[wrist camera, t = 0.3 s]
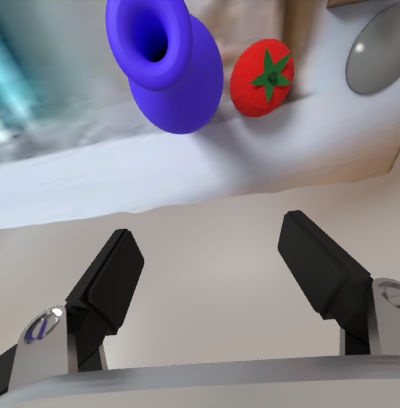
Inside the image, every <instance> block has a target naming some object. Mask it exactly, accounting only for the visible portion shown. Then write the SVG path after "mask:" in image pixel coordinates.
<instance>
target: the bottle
mask: <svg viewBox="0 0 400 408" xmlns="http://www.w3.org/2000/svg"><path fill="white" fill-rule="evenodd" d="M106 30H107V36H108V40H109V44H110V47H111V50H112V52H113V55H114V57H115V59H116V61H117V63H118V65H119V66H120V68H121V69H122V71H123V72H124V73H125V75H126V76H127V77H128V80H129V85H130V88H131V92H132V94H133V97H134V99H135V101H136V103H137V105H138V107H139V108H140V110H141V111H142V113H143V114H144V115H145V116H146V117H147V118H148V120H149V121H150V122H152V123H153V124H154V125H155V126H157V127H158V128H160V129H162V130H164V131H166V132H169V133H173V134H188V133H192V132H194V131H197V130H199V129H200V128H202V127H203V126H204V125H205V124H206V123H207V122H208V121H209V120H210V119H211V118H212V116H213V115H214V113H215V111H216V109H217V107H218V105H219V102H220V99H221V95H222V90H223V66H222V61H221V56H220V53H219V50H218V47H217V45H216V43H215V41H214V38H213V37H212V35H211V34H210V32H209V31H208V29H207V28H206V27H205V26H204V24H203V23H202V22H200V21H199V20H198V19H197V18H196V17H194V16H193V15H191V14H189V12H188V9H187V7H186V4H185V2H184V0H107V6H106Z"/></svg>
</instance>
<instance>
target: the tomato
mask: <svg viewBox="0 0 400 408" xmlns="http://www.w3.org/2000/svg"><path fill="white" fill-rule="evenodd" d="M291 53H292V52H290V50H289V49H288V48H287V46H286V45H285V44H284V43H282V42H280V41H278V40H276V39H263V40H260V41H258V42H256V43H254V44H252V45H251V46H250V47H249V48H248V49H247V50H245V51H244V52H243V53H242V54H241V56H240V57H239V59H238V61H237V62H236V64H235V66H234V69H233V72H232V75H231V78H230V94H231V100H232V102H233V104H234V106H235V108H236V109H237V110H238V111H239V112H240V113H242V114H244V115H246V116H249V117H260V116H263V115H266V114H268V113H270V112H271V111H273V110H274V109H275V108H277V107H278V106H279V105H280V103H281V102H282V101H283V100H284V98H285V97H286V96H287V94H288V92H289V89H290V87H291V85H292V80H293V76H294V61H293V58H292V55H291Z"/></svg>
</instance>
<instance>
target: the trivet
mask: <svg viewBox="0 0 400 408" xmlns="http://www.w3.org/2000/svg"><path fill="white" fill-rule="evenodd" d="M399 77H400V2H398V3H396V4H394V5H392V6H391V7H389V8H387V9H385V10H384V11H382V12H381V13H379V14H378V15H377V16H376V17H374V18H373V19H372V20H371V21H370V22H369V23H368V24H367V25H366V27H365V28H364V29H363V30H362V32H361V33H360V34H359V36H358V38H357V39H356V41H355V43H354V44H353V46H352V49H351V51H350V53H349V56H348V59H347V64H346V81H347V84H348V86H349V87H350V88H351V89H352V90H353V91H355V92H357V93H371V92H375V91H378V90H381V89H383V88H385V87H387V86H388V85H390V84H391V83H393V82H394V81H395V80H396V79H398V78H399Z"/></svg>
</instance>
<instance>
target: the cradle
mask: <svg viewBox="0 0 400 408" xmlns="http://www.w3.org/2000/svg"><path fill="white" fill-rule="evenodd" d="M364 1H369V0H328V3H327V8H331V7H336V6H342V5H347V4H353V3H358V2H364Z"/></svg>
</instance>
